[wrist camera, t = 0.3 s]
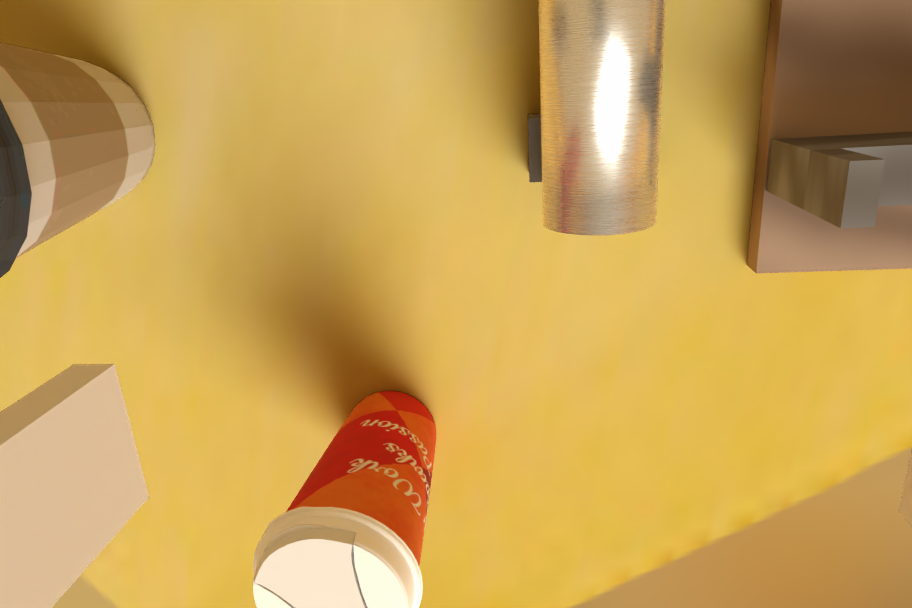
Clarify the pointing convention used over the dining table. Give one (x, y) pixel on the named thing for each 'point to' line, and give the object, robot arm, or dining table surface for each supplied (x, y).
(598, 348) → the dining table surface
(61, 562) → the robot arm
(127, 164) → the coffee cup
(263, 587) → the paper cup
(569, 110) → the silver metal cylinder
